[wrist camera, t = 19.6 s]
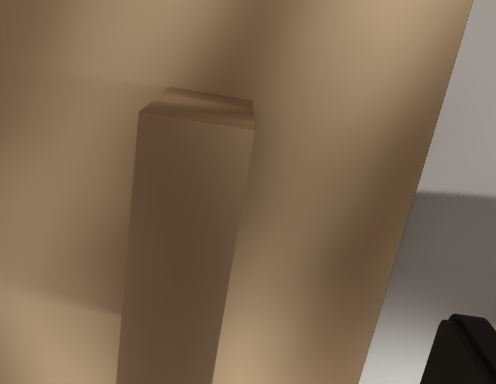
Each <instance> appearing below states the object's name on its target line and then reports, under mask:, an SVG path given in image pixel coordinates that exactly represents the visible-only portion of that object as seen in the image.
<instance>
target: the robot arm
mask: <svg viewBox="0 0 496 384" xmlns="http://www.w3.org/2000/svg"><path fill="white" fill-rule="evenodd" d="M420 384H496V331H495V330H494V328H493V327H492V326H491V324H490V323H489V322H488V321H487V320H486V319H485V318H482V317H475V316H468V315H461V314H453V315H451V317H450V318H449V319H448V320H442V321H441V322H440V324H439V327H438V330H437V333H436V336H435V339H434V342H433V345H432V348H431V351H430V354H429V358H428V361H427V364H426V367H425V370H424V373H423V376H422V379H421V382H420Z"/></svg>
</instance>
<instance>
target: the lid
mask: <svg viewBox="0 0 496 384" xmlns="http://www.w3.org/2000/svg"><path fill="white" fill-rule="evenodd" d="M472 3H473V0H0V384H358V383H359V380H360V376H361V373H362V370H363V366H364V363H365V360H366V356H367V353H368V350H369V346H370V343H371V340H372V336H373V333H374V330H375V326H376V323H377V320H378V316H379V313H380V310H381V306H382V303H383V300H384V296H385V293H386V290H387V286H388V283H389V280H390V276H391V273H392V270H393V267H394V263H395V260H396V257H397V253H398V250H399V247H400V243H401V240H402V237H403V233H404V230H405V227H406V223H407V220H408V217H409V213H410V210H411V207H412V203H413V200H414V197H415V193H416V190H417V187H418V183H419V180H420V177H421V173H422V170H423V167H424V163H425V160H426V157H427V153H428V150H429V147H430V143H431V140H432V137H433V133H434V130H435V127H436V123H437V120H438V116H439V113H440V110H441V107H442V103H443V100H444V97H445V93H446V90H447V87H448V83H449V80H450V77H451V73H452V70H453V67H454V63H455V60H456V57H457V54H458V50H459V47H460V44H461V40H462V37H463V34H464V30H465V27H466V24H467V20H468V17H469V13H470V10H471V7H472Z"/></svg>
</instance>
